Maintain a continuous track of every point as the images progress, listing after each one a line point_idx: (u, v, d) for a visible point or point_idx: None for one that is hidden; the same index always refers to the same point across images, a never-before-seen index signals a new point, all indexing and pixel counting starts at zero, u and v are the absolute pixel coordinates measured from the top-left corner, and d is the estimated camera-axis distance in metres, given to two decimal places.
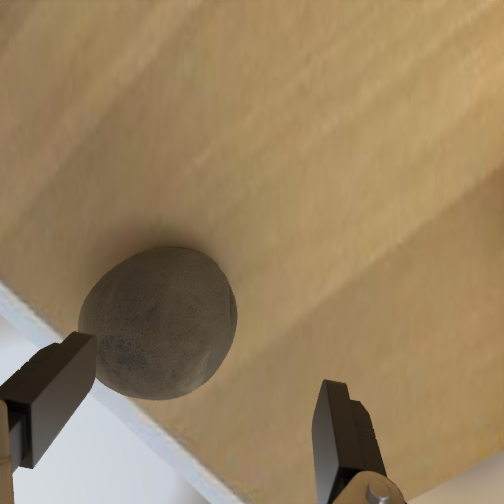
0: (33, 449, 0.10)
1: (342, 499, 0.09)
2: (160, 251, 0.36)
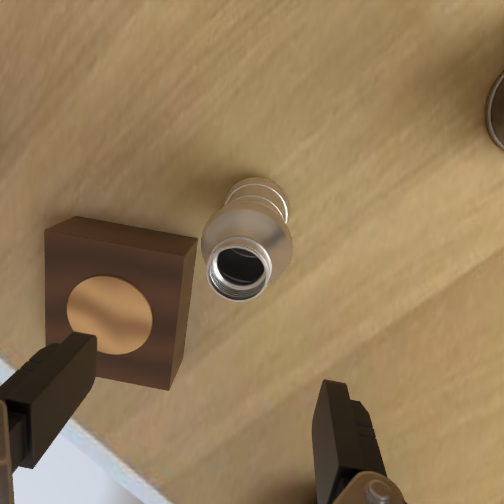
0: (33, 448, 0.10)
1: (342, 499, 0.09)
2: None
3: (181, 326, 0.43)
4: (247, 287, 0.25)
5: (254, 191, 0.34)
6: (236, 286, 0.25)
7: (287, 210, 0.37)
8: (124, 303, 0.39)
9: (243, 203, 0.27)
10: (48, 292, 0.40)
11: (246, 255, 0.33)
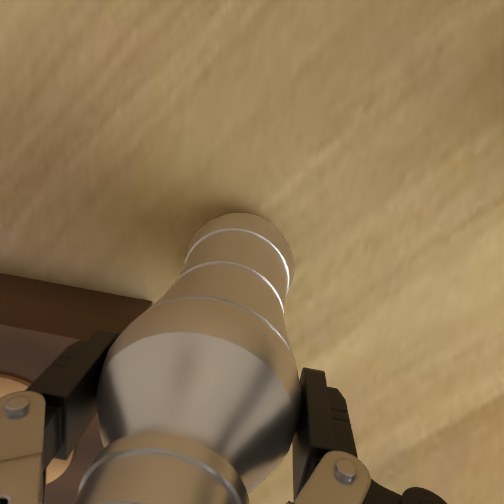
0: (67, 441, 0.11)
1: (310, 476, 0.09)
2: None
3: None
4: None
5: (230, 247, 0.19)
6: None
7: (289, 271, 0.22)
8: None
9: (188, 310, 0.12)
10: None
11: None
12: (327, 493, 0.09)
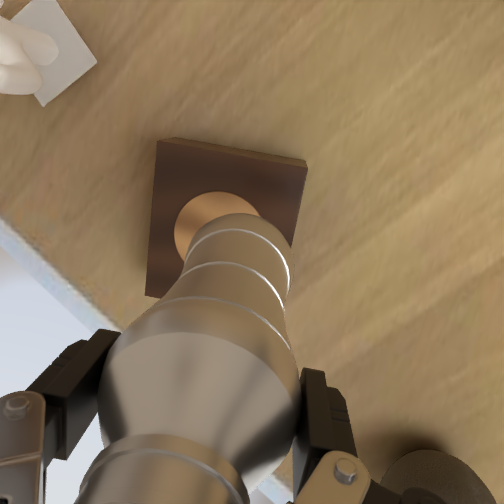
0: (67, 441, 0.11)
1: (310, 476, 0.09)
2: (445, 475, 0.43)
3: None
4: None
5: (230, 248, 0.19)
6: None
7: (289, 272, 0.22)
8: None
9: (189, 310, 0.12)
10: (155, 211, 0.38)
11: None
12: (327, 493, 0.09)
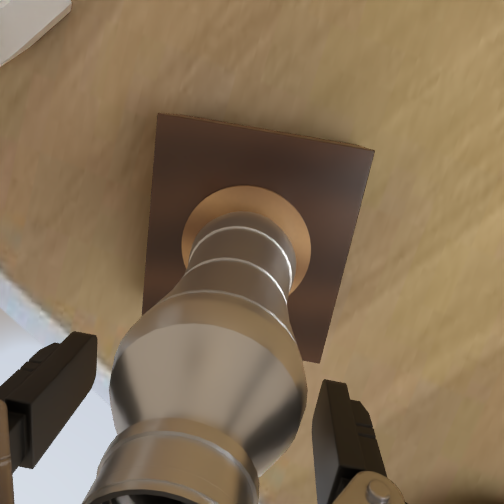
0: (33, 448, 0.10)
1: (342, 499, 0.09)
2: None
3: None
4: None
5: (234, 245, 0.19)
6: None
7: (292, 268, 0.22)
8: None
9: (198, 303, 0.12)
10: (154, 215, 0.27)
11: None
12: None
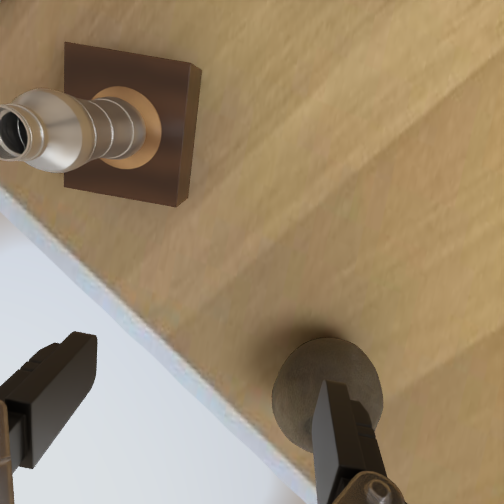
0: (33, 448, 0.10)
1: (342, 499, 0.09)
2: (331, 347, 0.50)
3: (187, 149, 0.47)
4: None
5: (90, 100, 0.37)
6: (19, 154, 0.27)
7: (134, 125, 0.40)
8: None
9: (40, 88, 0.29)
10: None
11: None
12: None
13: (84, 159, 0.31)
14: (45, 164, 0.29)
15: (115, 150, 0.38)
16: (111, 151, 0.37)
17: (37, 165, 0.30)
